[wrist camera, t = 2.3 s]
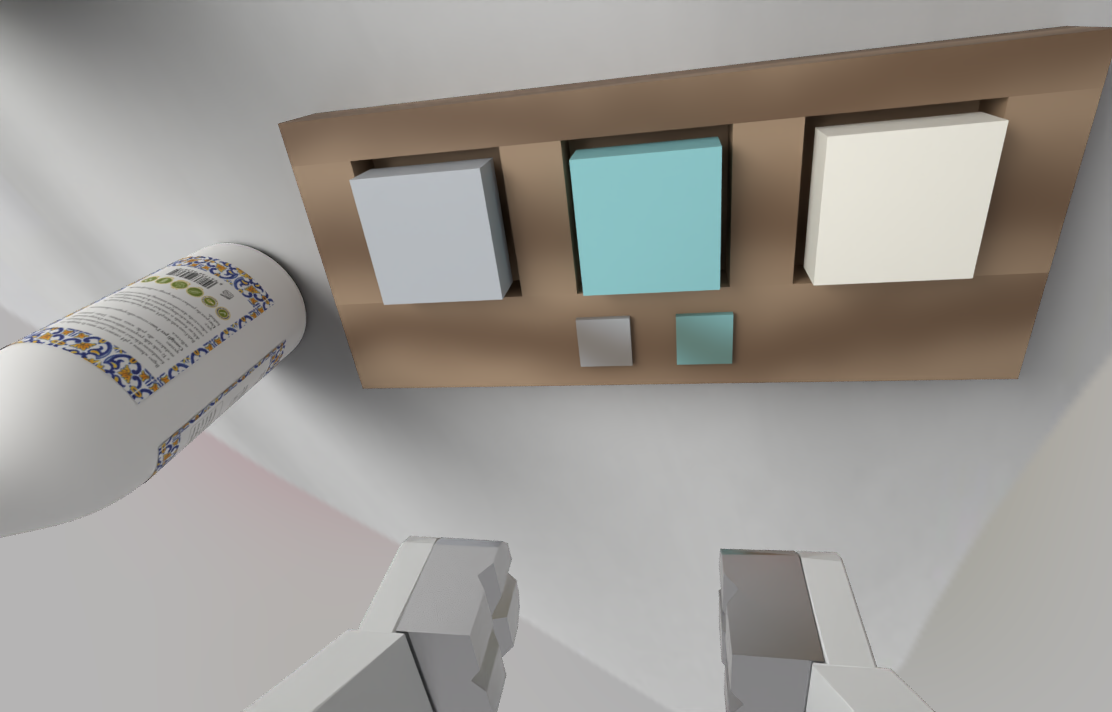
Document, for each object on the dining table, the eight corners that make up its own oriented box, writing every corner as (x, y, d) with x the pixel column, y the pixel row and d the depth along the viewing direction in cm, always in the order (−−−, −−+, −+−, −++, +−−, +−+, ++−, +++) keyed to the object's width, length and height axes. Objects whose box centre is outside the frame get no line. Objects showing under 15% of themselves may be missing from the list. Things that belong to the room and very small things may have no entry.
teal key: (576, 149, 24) (569, 160, 22) (717, 136, 23) (721, 146, 21) (588, 277, 27) (583, 295, 25) (716, 271, 26) (719, 289, 24)
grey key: (370, 169, 26) (349, 180, 24) (492, 157, 25) (479, 168, 23) (401, 287, 28) (383, 304, 27) (512, 281, 27) (502, 299, 26)
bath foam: (174, 237, 32) (-400, 496, 15) (293, 240, 31) (-177, 522, 14) (214, 351, 35) (-213, 668, 18) (323, 357, 34) (-23, 700, 17)
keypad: (314, 113, 27) (273, 124, 25) (1066, 26, 21) (1126, 27, 19) (386, 359, 34) (360, 391, 31) (985, 344, 28) (1021, 382, 25)
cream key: (815, 127, 22) (827, 136, 20) (981, 111, 21) (1008, 120, 19) (803, 266, 25) (813, 285, 23) (950, 259, 24) (972, 278, 22)
